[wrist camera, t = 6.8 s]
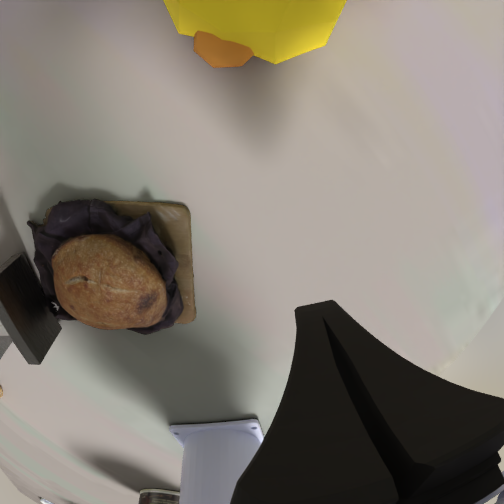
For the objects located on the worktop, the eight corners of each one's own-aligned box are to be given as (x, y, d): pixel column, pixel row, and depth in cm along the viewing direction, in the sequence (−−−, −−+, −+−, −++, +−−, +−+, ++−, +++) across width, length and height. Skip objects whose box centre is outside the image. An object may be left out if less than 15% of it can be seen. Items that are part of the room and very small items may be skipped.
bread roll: (194, 192, 15) (183, 216, 12) (198, 324, 19) (192, 367, 15) (28, 197, 14) (-8, 218, 11) (55, 311, 18) (33, 344, 15)
